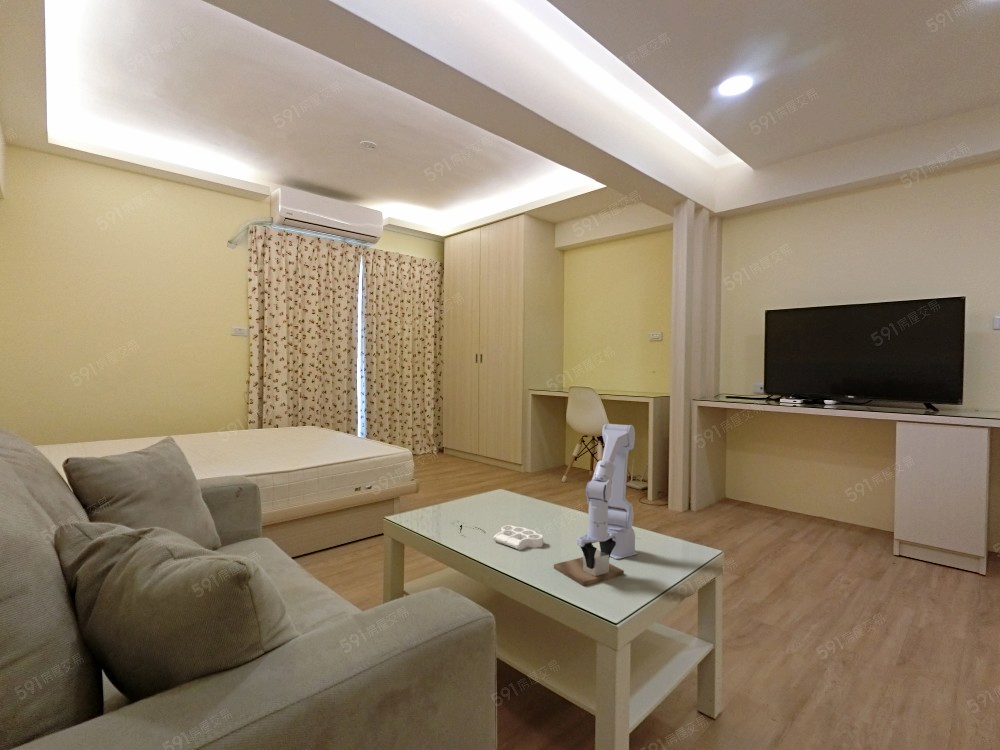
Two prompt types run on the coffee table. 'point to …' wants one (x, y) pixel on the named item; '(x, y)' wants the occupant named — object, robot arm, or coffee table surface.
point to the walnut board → (582, 577)
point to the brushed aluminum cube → (598, 564)
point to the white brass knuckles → (518, 537)
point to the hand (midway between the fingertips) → (597, 565)
